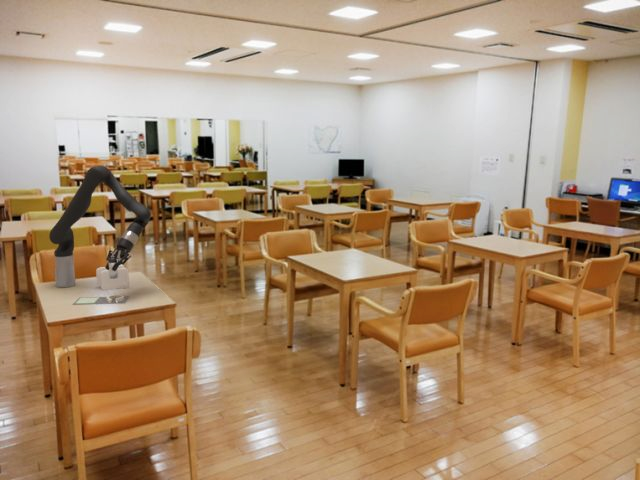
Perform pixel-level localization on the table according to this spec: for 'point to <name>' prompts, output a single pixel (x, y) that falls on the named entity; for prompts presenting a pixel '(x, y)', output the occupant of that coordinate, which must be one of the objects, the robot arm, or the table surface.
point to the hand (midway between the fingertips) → (110, 269)
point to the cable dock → (102, 300)
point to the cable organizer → (109, 283)
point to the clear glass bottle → (111, 263)
